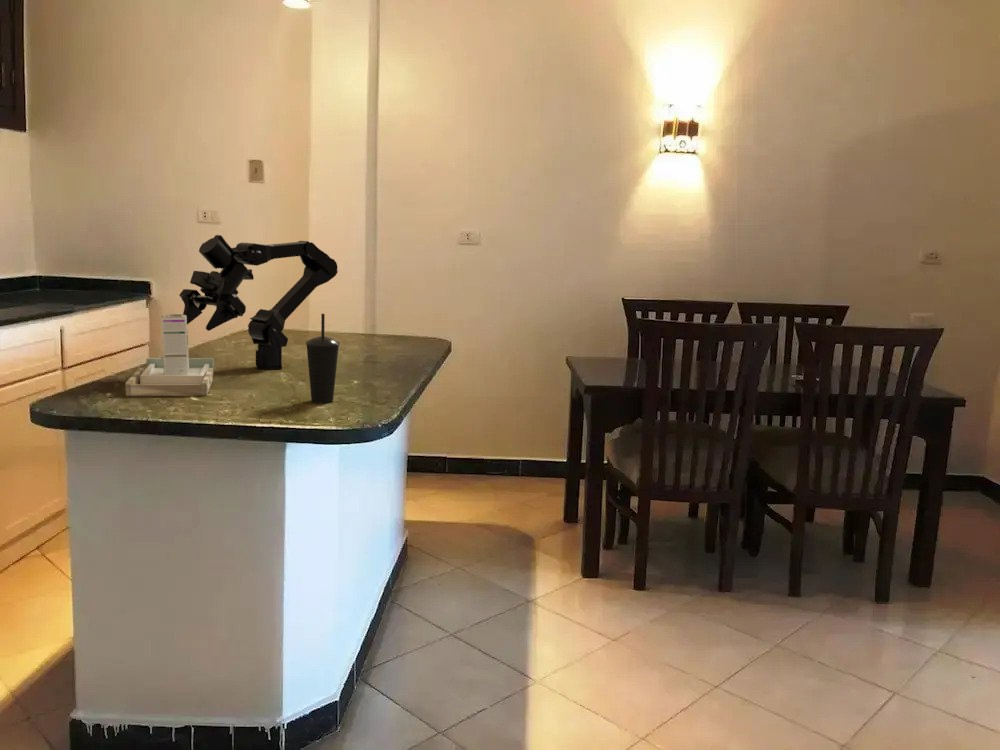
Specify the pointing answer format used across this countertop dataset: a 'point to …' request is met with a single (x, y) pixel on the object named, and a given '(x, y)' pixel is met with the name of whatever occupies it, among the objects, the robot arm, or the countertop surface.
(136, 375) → the dock
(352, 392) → the countertop surface
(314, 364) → the drinking cup
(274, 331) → the robot arm
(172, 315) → the syrup box
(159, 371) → the tray
